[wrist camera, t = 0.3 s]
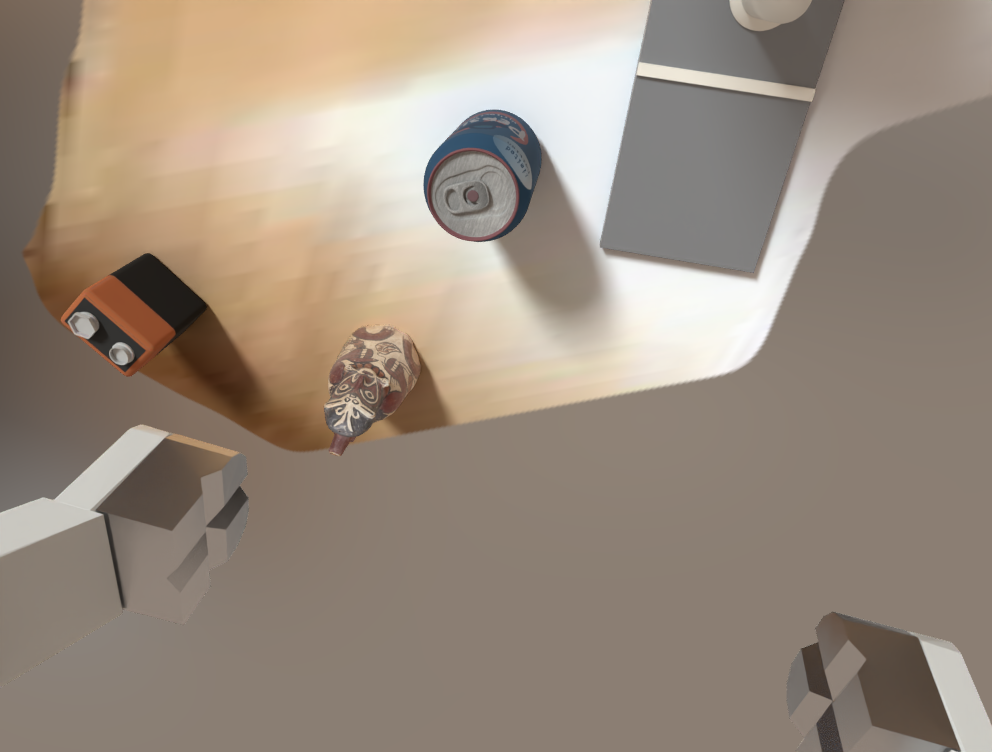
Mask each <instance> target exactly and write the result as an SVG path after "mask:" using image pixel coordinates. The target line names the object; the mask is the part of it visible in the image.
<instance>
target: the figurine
mask: <svg viewBox="0 0 992 752" xmlns="http://www.w3.org/2000/svg"><path fill="white" fill-rule="evenodd" d="M420 368H421V366H420V362H419V357H418V354H417V352H416V350H415V348H414V347H413V342H412V340H411V338H410V336H409V335H408V334H406V333H404V332H402V331H400V330H398V329H397V328H396V327H394V326H392V325H371V326H369V325H367V326H363V327H360V328H359V329H358V330H356V331H355V332H354V333H353V334H352V335H351V336H350V338H349V339H348V340H347V342H346V343H345V344H344V346H343V348H342V350H341V352H340V354H339V356H338V358H337V360H336V361H335V363H334V365H333V367H332V369H331V371H330V373H329V381H328V389H329V394H330V399H329V401H328V402H326V403H325V405H324V412H325V419H326V423H327V425H328V427H329V429H330V430H332V431H333V432H334V434H335V435H334V438H333V441H332V443H331V446H330V449H329V453H330V454H333V455H337V456H341V455H342V454H343V452H344V450H345V449H346V447H347V445H348V444H349V442H353V441H354V440H355V438H356V436H359V435H361V434H363V433H365V432H366V431H367V430H368V429H369V428H370V427H371V425H372V423H374V422H377V421H379V420H382V419H385V418H386V417H388V416H390V415H391V414H393V413H394V412H395V411H396V410H397V408H398V407H399V406H400V405H401V403H402V401H403V400H404V398H405V397H406V396H407V395H408V393H409V392H410V391H411V390H412V389H413V387H414V385H415V384H416V382H417V379H418V377H419V374H420Z"/></svg>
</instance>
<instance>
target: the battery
mask: <svg viewBox="0 0 992 752" xmlns="http://www.w3.org/2000/svg"><path fill="white" fill-rule="evenodd" d="M206 308H207V306H206V304H205V303H204V302H203V301H202V300H201V299H200V298H199V297H198V296H197V295H195V294H194V293H193V292H192V291H191V290H190V289H189V288H188V287H187V286H186V285H185V284H183V283H182V282H181V281H180V280H179V279H178V278H177V277H176V276H175V275H174V274H173V273H171V272H170V271H169V270H168V269H167V268H166V267H165V266H164V265H163V264H162V263H160V262H159V261H158V260H157V259H156V258H155V257H154V256H153V255H151V254H149V253H146V254H144V255H142V256H140V257H139V258H137V259H135V260H134V261H132V262H130V263H129V264H127V265H125V266H124V267H122V268H120V269H119V270H117V271H115V272H114V273H112V274H110V275H108V276H107V277H105V278H103V279H102V280H100V281H98V282H97V283H95V284H93V285H92V286H90V287H88V288H87V289H85V290H84V291H83V292H82V293H81V294H80V295H79V297H78V298H77V299H76V300H75V301H74V303H73V304H72V305H71V306H70V307H69V309H68V310H67V311H66V312H65V313H64V315H63V316H62V317H61V322H62V323H63V324H64V325H65V326H66V327H67V328H69V329H70V330H71V331H72V332H73V333H74V334H75V335H77V336H78V337H79V338H80V339H82V340H83V341H84V342H85V343H86V344H88V345H89V346H90V347H91V348H92V349H94V350H95V351H96V352H97V353H98V354H99V355H101V356H102V357H103V358H104V359H105V360H107V361H108V362H109V363H110V364H111V365H112V366H114V367H115V368H116V369H117V370H119V371H120V372H121V373H122V374H123V375H125V376H132V375H133V374H135V373H136V372H137V371H138V370H139V369H141V368H142V367H143V366H144V365H145V364H147V363H148V362H149V361H150V360H151V359H152V358H154V357H155V356H156V355H157V354H158V353H160V352H161V351H162V350H163V349H164V348H166V347H167V346H168V345H169V344H170V343H172V342H173V341H174V340H175V339H176V338H178V337H179V336H180V335H181V334H182V333H183V332H185V331H186V329H187V328H188V327H189V326H190V325H191V324H192V323H193V322H194V321H195V320H196V319H197V318H198V317H199V316H200V315H201V314H202V313H203V312H204V311H205V310H206Z"/></svg>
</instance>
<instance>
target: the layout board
mask: <svg viewBox="0 0 992 752" xmlns="http://www.w3.org/2000/svg"><path fill="white" fill-rule="evenodd" d="M843 3H844V0H651V3H650V7H649V12H648V17H647V22H646V26H645V31H644V36H643V41H642V45H641V50H640V55H639V60H638V64H637V69H636V74H635V79H634V83H633V88H632V93H631V98H630V102H629V107H628V112H627V117H626V122H625V126H624V131H623V136H622V141H621V145H620V150H619V155H618V160H617V164H616V169H615V174H614V179H613V183H612V188H611V193H610V198H609V202H608V207H607V212H606V217H605V221H604V226H603V231H602V236H601V241H600V247H601V248H607V249H613V250H619V251H625V252H631V253H637V254H643V255H649V256H655V257H661V258H667V259H673V260H679V261H685V262H692V263H698V264H704V265H710V266H716V267H722V268H728V269H734V270H740V271H746V272H752V273H754V270H755V267H756V264H757V261H758V258H759V255H760V252H761V249H762V246H763V243H764V240H765V237H766V234H767V231H768V228H769V225H770V222H771V219H772V216H773V213H774V210H775V207H776V204H777V201H778V198H779V195H780V192H781V189H782V186H783V183H784V180H785V177H786V174H787V171H788V168H789V165H790V162H791V159H792V156H793V153H794V150H795V147H796V144H797V141H798V138H799V135H800V132H801V129H802V126H803V123H804V120H805V117H806V114H807V111H808V108H809V105H810V102H812V100H813V97H814V94H815V91H816V89H815V87H816V84H817V81H818V78H819V75H820V72H821V69H822V66H823V63H824V60H825V57H826V54H827V51H828V48H829V45H830V42H831V39H832V36H833V33H834V30H835V27H836V24H837V21H838V18H839V15H840V12H841V9H842V6H843Z"/></svg>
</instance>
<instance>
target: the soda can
mask: <svg viewBox="0 0 992 752" xmlns="http://www.w3.org/2000/svg"><path fill="white" fill-rule="evenodd" d="M540 168H541V149H540V145H539V142H538V139H537V137H536V135H535V133H534V132H533V130H532V129H531V128H530V126H529V125H528V124H527V123H526V122H525V121H524V120H522V119H521V118H519V117H518V116H516V115H514V114H512V113H510V112H507V111H502V110H486V111H481V112H478V113H476V114H474V115H472V116H470V117H469V118H467V119H466V120H465V121H464V122H463V123H462V124H461V125H460V126H459V127H458V128H457V129H456V130H455V131H454V132H453V133H452V134H451V135H450V136H449V137H448V138H447V139H446V140H445V142H444V143H443V144H442V145H441V146H440V147H439V148H438V149H437V150H436V151H435V152H434V154H433V155H432V157H431V158H430V160H429V162H428V165H427V167H426V171H425V175H424V194H425V199H426V202H427V205H428V208H429V210H430V212H431V214H432V215H433V217H434V218H435V220H436V221H437V223H438V224H439V225H440V226H441V227H442V228H443V229H444V230H445V231H447V232H448V233H449V234H451V235H453V236H455V237H457V238H459V239H462V240H466V241H474V242H485V241H491V240H495V239H498V238H500V237H502V236H504V235H506V234H508V233H509V232H511V231H512V230H513V229H514V228H515V227H516V226H517V225H518V224H519V223H520V222H521V220H522V219H523V217H524V215H525V214H526V211H527V209H528V206H529V203H530V200H531V197H532V194H533V191H534V188H535V185H536V182H537V179H538V176H539V172H540Z"/></svg>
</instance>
